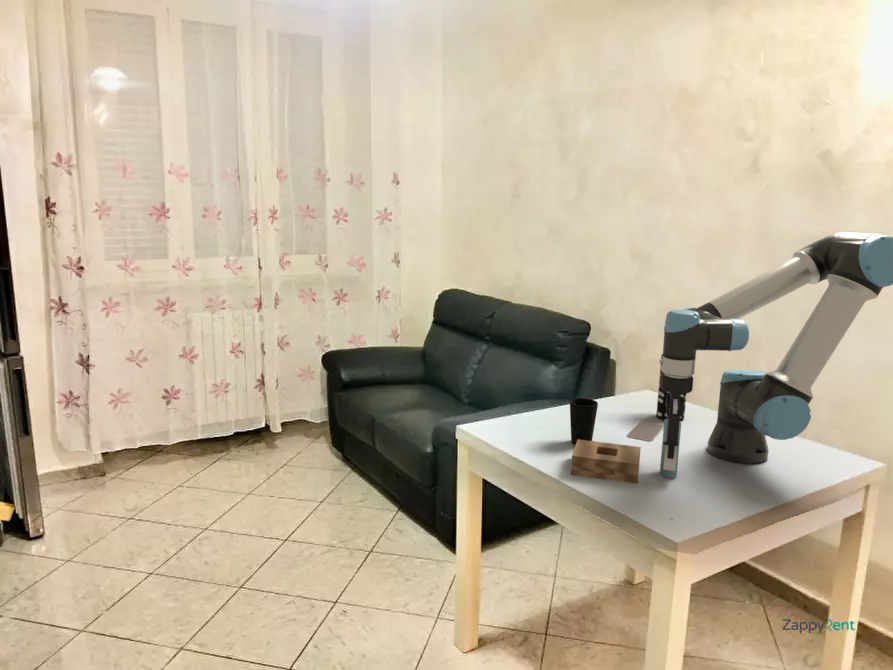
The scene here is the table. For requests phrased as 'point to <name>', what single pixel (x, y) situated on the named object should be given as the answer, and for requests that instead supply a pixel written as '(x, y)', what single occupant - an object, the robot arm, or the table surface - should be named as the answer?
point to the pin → (663, 472)
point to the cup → (582, 419)
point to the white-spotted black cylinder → (662, 402)
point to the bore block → (606, 461)
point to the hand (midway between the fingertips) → (669, 464)
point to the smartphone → (645, 431)
